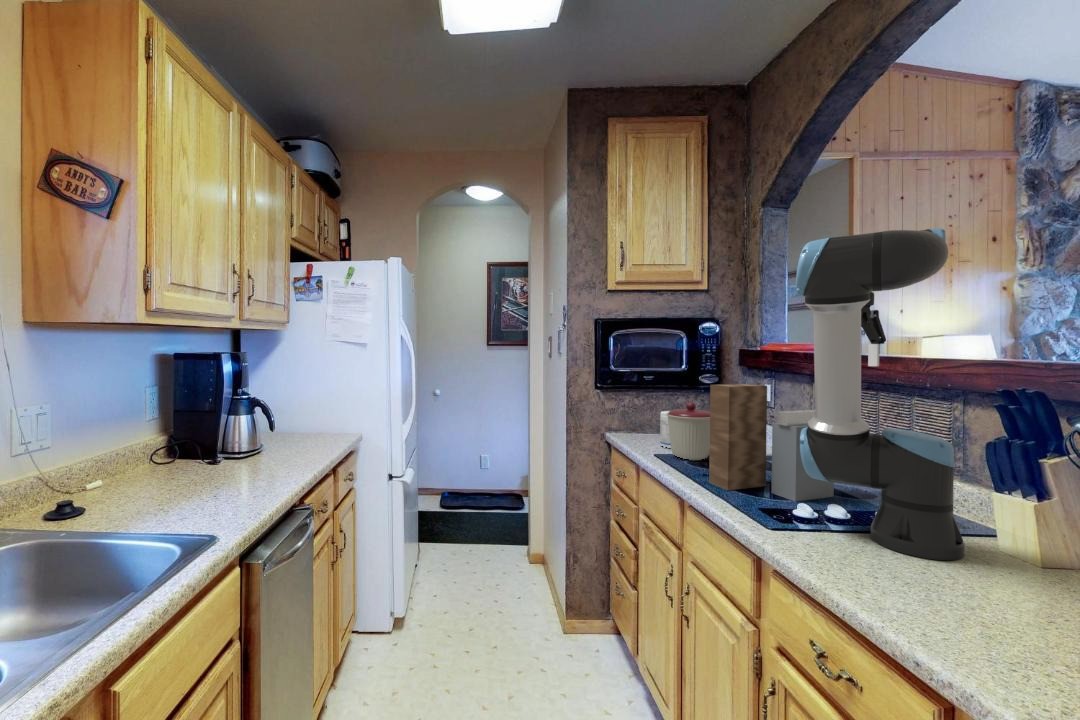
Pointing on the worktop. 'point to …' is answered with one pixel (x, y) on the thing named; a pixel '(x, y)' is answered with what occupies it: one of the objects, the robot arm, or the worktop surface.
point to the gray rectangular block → (793, 467)
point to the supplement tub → (664, 429)
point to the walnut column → (738, 436)
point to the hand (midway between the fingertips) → (856, 366)
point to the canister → (689, 432)
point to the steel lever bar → (794, 417)
